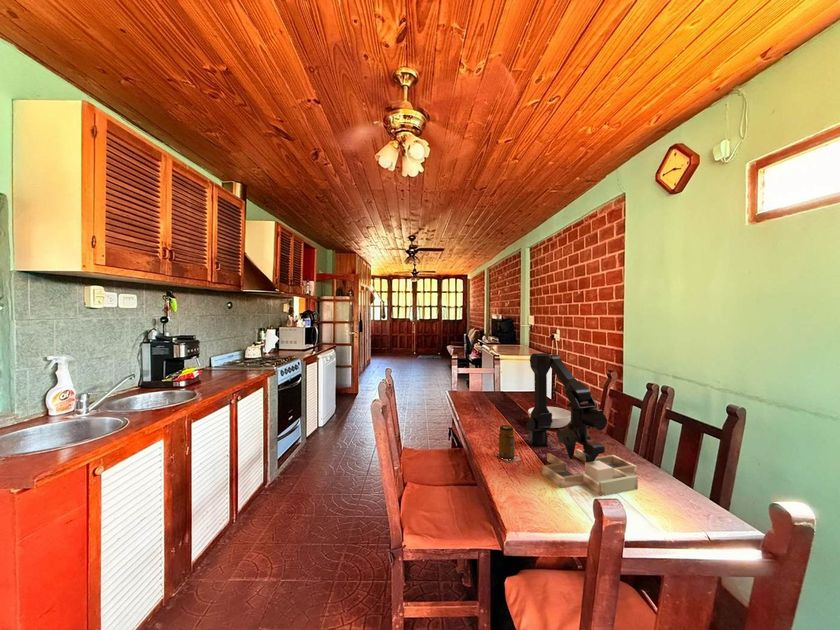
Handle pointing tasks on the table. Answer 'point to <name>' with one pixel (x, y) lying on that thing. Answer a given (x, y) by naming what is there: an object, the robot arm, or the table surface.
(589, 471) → the block
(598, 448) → the robot arm
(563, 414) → the serving bowl
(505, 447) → the condiment
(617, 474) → the box
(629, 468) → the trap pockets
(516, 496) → the table surface
